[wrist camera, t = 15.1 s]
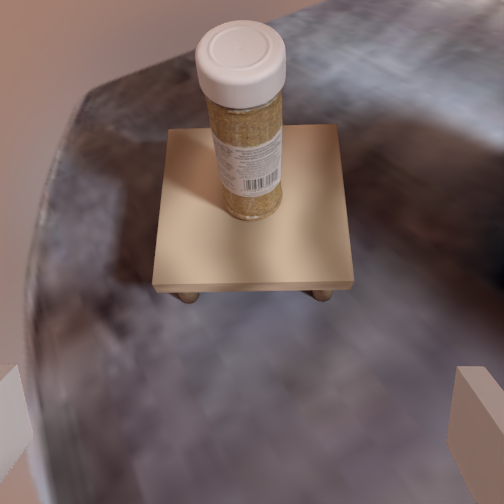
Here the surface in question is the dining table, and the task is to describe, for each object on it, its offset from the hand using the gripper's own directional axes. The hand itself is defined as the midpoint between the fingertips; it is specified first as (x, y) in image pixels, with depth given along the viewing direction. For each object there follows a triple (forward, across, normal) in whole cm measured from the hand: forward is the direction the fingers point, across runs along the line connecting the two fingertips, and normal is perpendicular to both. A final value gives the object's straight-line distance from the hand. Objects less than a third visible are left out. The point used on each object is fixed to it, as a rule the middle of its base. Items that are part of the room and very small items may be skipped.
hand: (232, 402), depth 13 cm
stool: (+26, 0, -2) cm, 26 cm away
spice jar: (+22, 0, +2) cm, 22 cm away
